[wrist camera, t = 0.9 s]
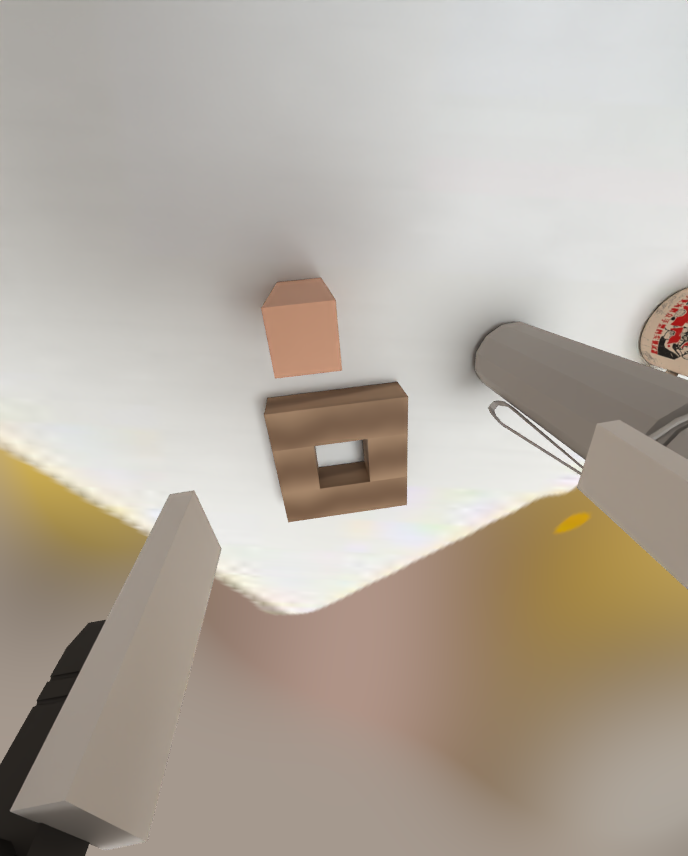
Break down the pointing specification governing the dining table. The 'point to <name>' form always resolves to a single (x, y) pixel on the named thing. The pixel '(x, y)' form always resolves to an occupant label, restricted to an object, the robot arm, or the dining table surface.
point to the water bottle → (579, 389)
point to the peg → (302, 328)
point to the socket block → (334, 423)
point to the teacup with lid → (668, 335)
